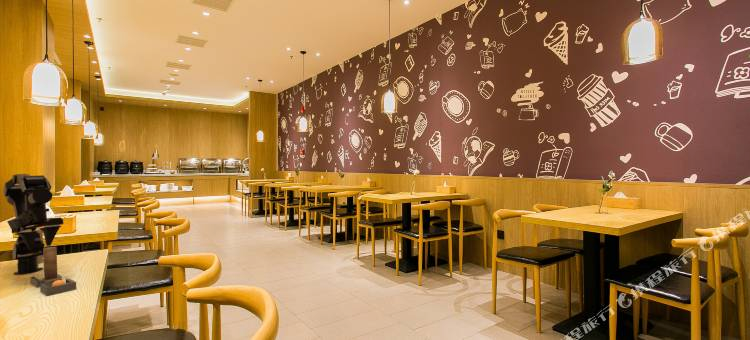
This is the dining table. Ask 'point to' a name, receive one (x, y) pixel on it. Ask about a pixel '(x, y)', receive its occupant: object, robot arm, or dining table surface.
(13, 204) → the robot arm
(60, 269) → the dining table surface
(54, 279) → the slider
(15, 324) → the dining table surface
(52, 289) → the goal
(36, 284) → the track
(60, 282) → the ball
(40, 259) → the handle
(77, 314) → the dining table surface
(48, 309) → the dining table surface
